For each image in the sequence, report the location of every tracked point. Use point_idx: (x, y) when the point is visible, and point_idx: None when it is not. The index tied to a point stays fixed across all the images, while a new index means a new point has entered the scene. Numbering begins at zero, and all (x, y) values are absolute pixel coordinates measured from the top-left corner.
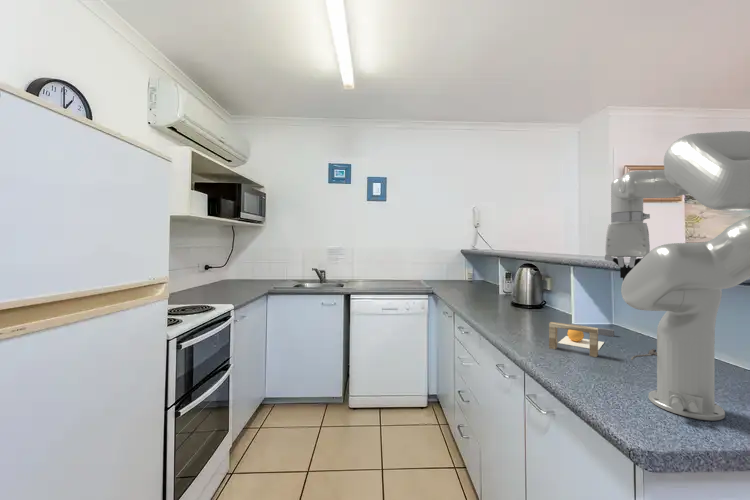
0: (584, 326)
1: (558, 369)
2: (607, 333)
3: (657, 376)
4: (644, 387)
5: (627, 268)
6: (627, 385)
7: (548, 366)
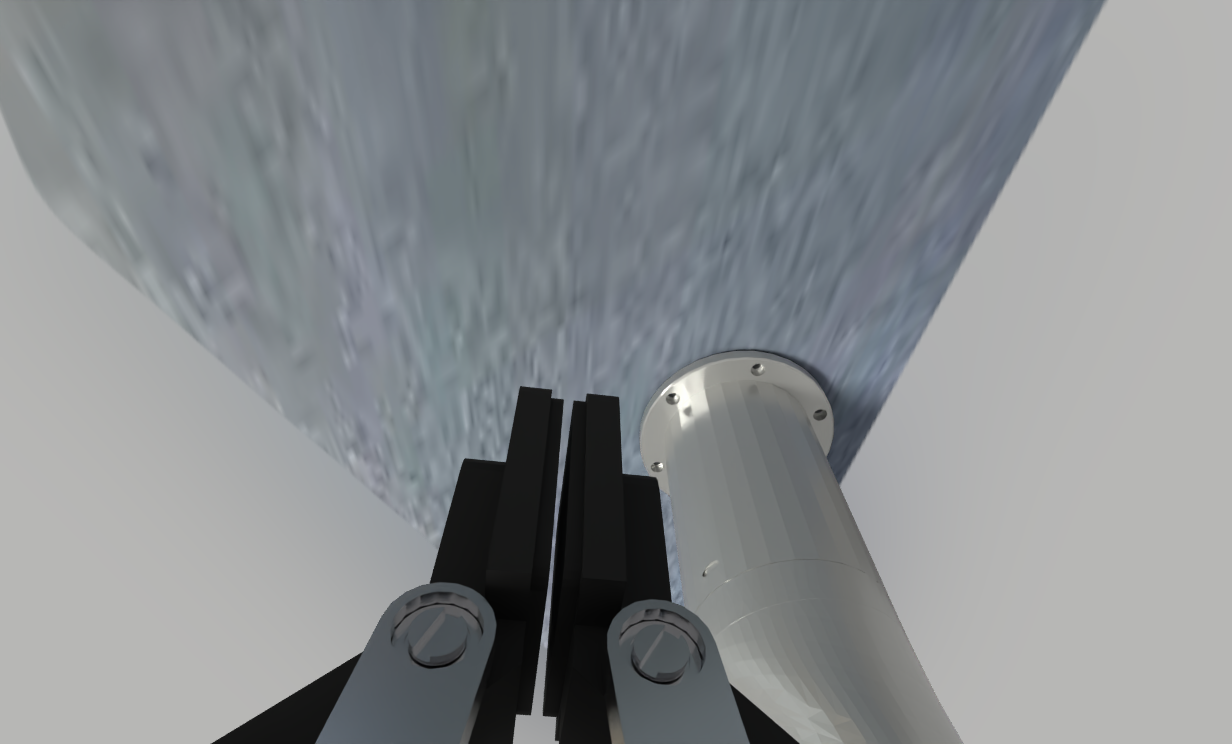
0: None
1: (301, 301)
2: None
3: (670, 497)
4: (640, 320)
5: (556, 721)
6: (581, 335)
7: (247, 285)
